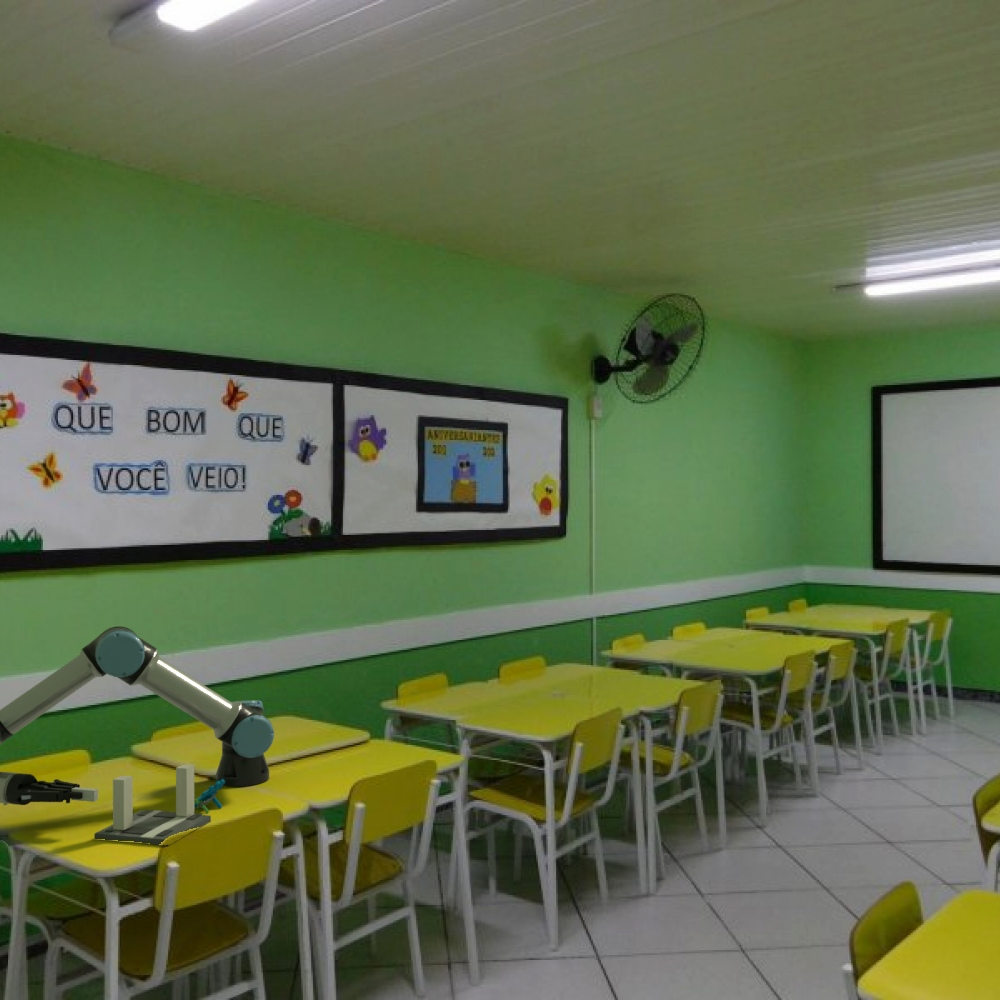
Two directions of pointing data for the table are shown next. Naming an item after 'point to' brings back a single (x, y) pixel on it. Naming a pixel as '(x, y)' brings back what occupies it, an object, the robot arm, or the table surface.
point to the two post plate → (162, 816)
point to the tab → (122, 802)
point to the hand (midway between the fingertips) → (96, 795)
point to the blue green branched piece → (209, 796)
